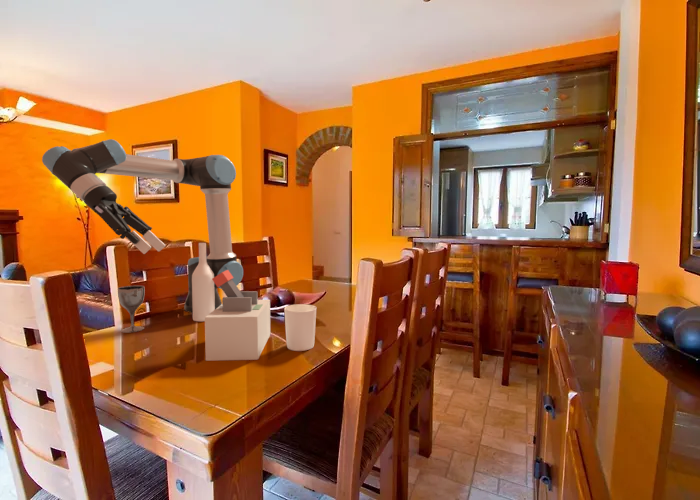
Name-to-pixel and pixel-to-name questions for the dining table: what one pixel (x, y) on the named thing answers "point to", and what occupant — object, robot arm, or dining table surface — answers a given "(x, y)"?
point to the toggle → (227, 284)
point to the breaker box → (237, 328)
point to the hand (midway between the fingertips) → (155, 249)
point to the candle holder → (300, 326)
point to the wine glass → (131, 303)
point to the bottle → (202, 287)
